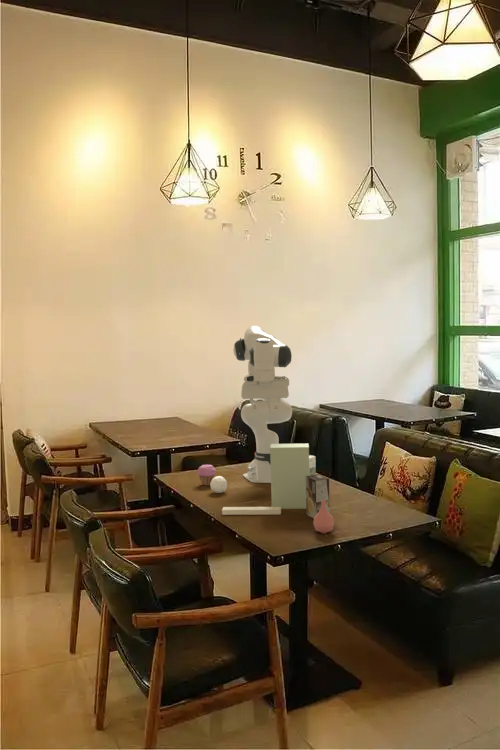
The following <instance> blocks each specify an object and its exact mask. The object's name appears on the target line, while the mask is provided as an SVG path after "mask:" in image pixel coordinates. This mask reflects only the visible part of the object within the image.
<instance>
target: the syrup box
mask: <svg viewBox="0 0 500 750" xmlns="http://www.w3.org/2000/svg"><path fill="white" fill-rule="evenodd" d="M316 458H317V457H316V456H315V455H311V454H309V476H310V475H316V474H317V470H316V467H317V466H316V462H317V460H316Z"/></svg>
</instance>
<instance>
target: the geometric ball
mask: <svg viewBox="0 0 500 750" xmlns="http://www.w3.org/2000/svg"><path fill="white" fill-rule="evenodd" d="M209 486H210V488H211V491H212V492H214V493H216V494H221V493H223V492H225V491H226V490H227V487H228V481H227V479H225V477H223V476H222V475H218V476H217V475H216V476H214V478H213V479H212V481H211V483H210V485H209Z"/></svg>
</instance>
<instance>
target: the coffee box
mask: <svg viewBox="0 0 500 750" xmlns="http://www.w3.org/2000/svg"><path fill="white" fill-rule="evenodd" d="M305 477H306V509H305V511H306V515H307V516H308V517H310V518H312V519H314V517H315V516H316V515H317V514H318V512H319V511H320V509H321V501H322V500H325V507H326V509H327V511H328V512H329V513H330V514H331V508H330V478H328V477H326V476H323V475H321V474H319V473H318V474H317V473H316V475H310V476H305Z"/></svg>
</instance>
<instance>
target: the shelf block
mask: <svg viewBox="0 0 500 750" xmlns="http://www.w3.org/2000/svg"><path fill="white" fill-rule="evenodd" d="M309 444H310V443H279V444H271V446H270V460H271V483H270V488H271V489H270V492H271V507H281V510H282V509H284V510H286V509H287V510H289V509H290V510H292V509H293V510H295V509H299V510H301V509H303V510H306V477H305V476H309V455H310V445H309Z"/></svg>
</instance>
